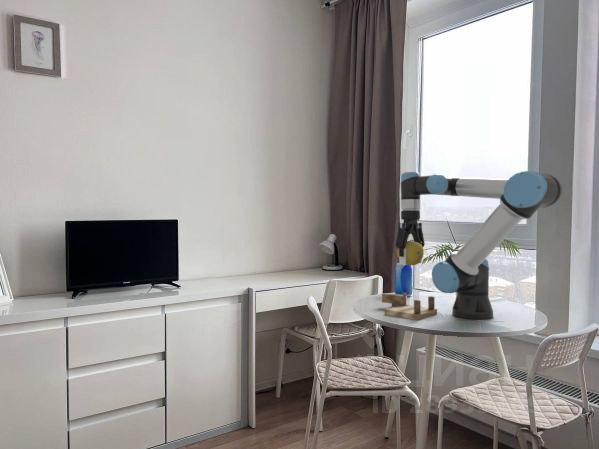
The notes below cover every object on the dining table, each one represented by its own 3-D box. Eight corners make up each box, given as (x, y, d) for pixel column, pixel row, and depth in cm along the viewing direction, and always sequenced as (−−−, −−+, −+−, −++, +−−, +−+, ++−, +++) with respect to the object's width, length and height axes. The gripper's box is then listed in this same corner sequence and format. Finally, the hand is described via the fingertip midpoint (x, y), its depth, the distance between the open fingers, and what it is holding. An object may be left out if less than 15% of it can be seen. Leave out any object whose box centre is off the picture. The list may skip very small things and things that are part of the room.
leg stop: (401, 307, 199) (401, 300, 199) (399, 308, 198) (399, 301, 198) (393, 306, 202) (393, 299, 202) (391, 306, 201) (391, 300, 201)
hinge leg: (407, 304, 194) (407, 292, 193) (404, 305, 192) (404, 293, 192) (384, 301, 200) (384, 290, 200) (381, 302, 198) (382, 291, 198)
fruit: (429, 265, 189) (428, 240, 189) (411, 266, 183) (411, 241, 183) (409, 263, 197) (409, 240, 197) (392, 264, 191) (392, 240, 191)
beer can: (401, 294, 235) (401, 262, 235) (415, 296, 229) (415, 263, 229) (391, 295, 230) (391, 263, 230) (405, 297, 224) (405, 264, 223)
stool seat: (437, 314, 185) (437, 296, 185) (418, 320, 174) (418, 301, 174) (403, 309, 196) (403, 292, 195) (384, 314, 185) (384, 297, 184)
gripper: (417, 210, 201) (417, 261, 201) (386, 209, 184) (386, 265, 184) (433, 210, 195) (433, 262, 195) (402, 209, 179) (402, 266, 179)
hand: (410, 263), depth 190 cm, fingers closed on fruit, 11 cm apart
